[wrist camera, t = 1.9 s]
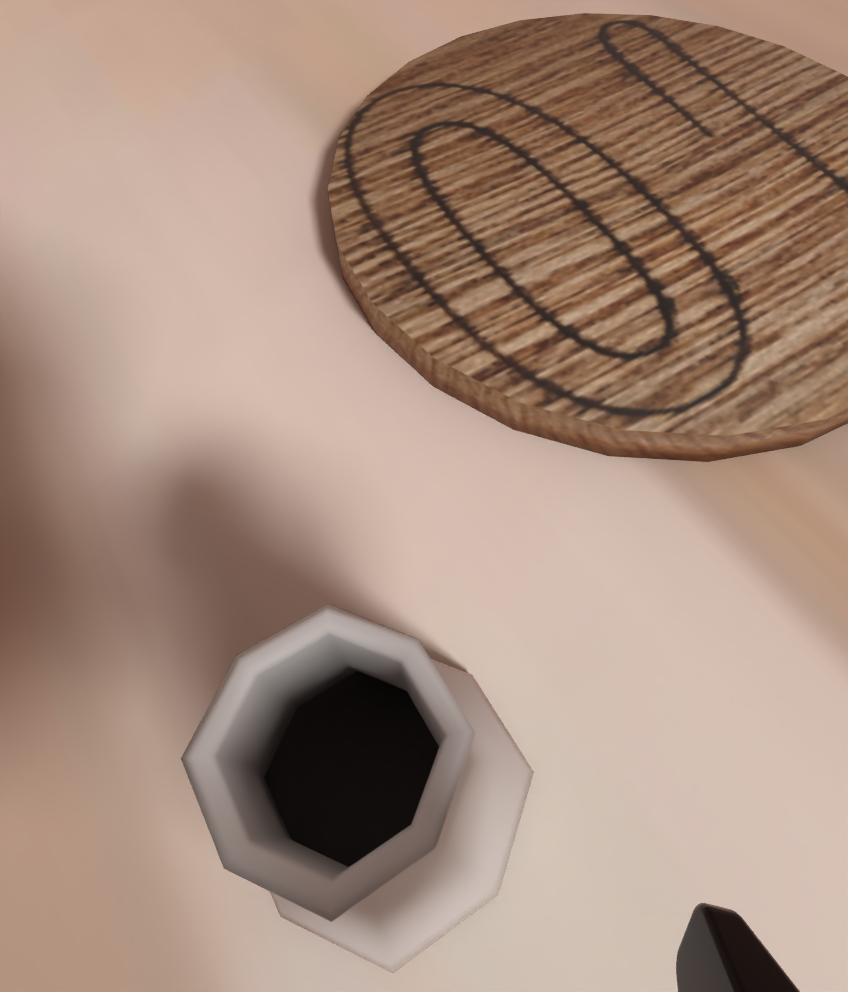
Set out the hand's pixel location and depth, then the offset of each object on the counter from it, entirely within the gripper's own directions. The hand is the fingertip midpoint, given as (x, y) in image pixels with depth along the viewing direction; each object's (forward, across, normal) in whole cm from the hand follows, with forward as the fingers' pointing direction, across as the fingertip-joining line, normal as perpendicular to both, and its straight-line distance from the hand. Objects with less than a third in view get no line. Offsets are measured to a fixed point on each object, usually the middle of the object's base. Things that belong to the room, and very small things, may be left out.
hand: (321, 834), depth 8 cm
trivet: (+24, -5, -10) cm, 27 cm away
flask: (+7, 0, +6) cm, 9 cm away
